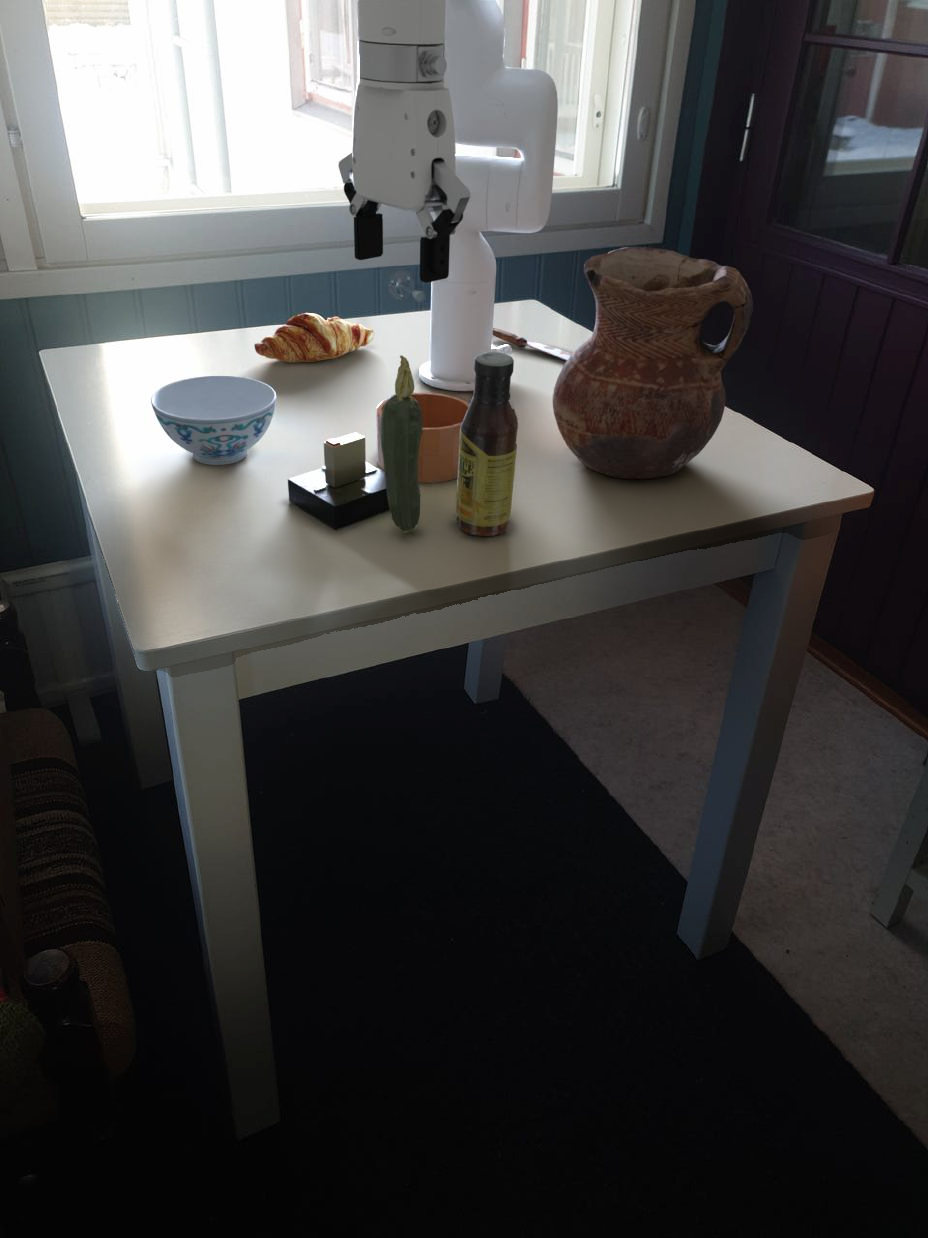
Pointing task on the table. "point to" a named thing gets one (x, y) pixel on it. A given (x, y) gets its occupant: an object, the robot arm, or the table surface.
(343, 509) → the panel
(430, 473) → the terracotta pot
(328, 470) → the hob knob
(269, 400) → the chinaware
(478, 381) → the sauce bottle
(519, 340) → the kitchen knife
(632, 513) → the table surface
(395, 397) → the vegetable
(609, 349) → the jug
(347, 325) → the croissant
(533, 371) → the table surface
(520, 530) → the table surface
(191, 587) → the table surface
